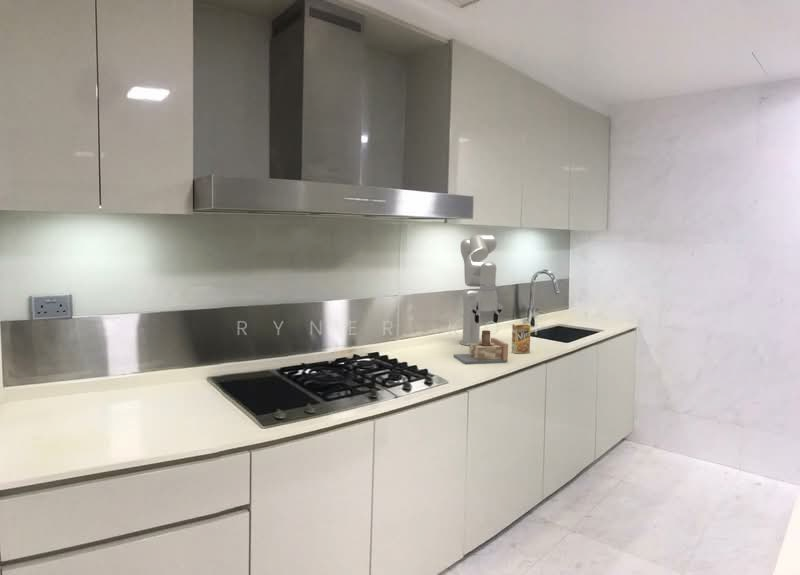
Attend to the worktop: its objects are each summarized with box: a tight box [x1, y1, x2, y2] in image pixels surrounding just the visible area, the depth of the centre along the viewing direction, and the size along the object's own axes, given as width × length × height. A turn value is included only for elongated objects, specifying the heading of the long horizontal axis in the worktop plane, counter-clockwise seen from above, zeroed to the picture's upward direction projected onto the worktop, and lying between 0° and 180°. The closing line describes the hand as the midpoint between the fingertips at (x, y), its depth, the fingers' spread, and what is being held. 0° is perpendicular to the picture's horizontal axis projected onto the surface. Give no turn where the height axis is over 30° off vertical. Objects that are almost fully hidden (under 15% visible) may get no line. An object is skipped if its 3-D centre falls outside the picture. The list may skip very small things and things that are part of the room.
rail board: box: [453, 337, 509, 365], centre depth 250 cm, size 16×22×9 cm
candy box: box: [511, 323, 531, 354], centre depth 268 cm, size 9×4×15 cm, turn 107°
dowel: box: [481, 329, 491, 346], centre depth 250 cm, size 4×4×12 cm
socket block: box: [468, 341, 502, 360], centre depth 250 cm, size 12×12×6 cm
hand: (486, 322), depth 250 cm, fingers open, 9 cm apart
